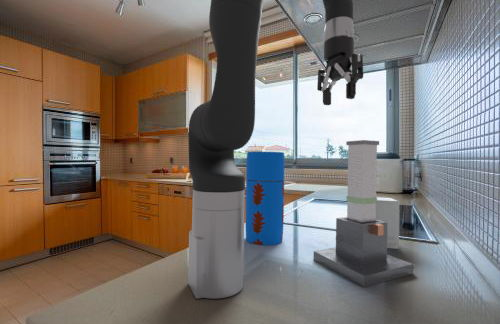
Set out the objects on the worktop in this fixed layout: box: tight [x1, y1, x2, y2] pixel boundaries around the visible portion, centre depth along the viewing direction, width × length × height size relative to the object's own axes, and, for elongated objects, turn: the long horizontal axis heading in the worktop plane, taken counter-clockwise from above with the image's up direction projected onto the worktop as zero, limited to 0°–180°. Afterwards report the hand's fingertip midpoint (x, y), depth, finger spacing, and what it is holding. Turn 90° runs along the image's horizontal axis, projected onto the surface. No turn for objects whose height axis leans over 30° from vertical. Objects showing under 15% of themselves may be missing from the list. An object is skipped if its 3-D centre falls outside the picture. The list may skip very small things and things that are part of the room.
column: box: [345, 139, 380, 224], centre depth 56 cm, size 5×5×19 cm
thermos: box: [245, 151, 285, 246], centre depth 74 cm, size 11×11×25 cm
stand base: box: [312, 216, 414, 288], centre depth 56 cm, size 14×14×10 cm
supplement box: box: [376, 196, 401, 250], centre depth 72 cm, size 7×7×13 cm
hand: (338, 101), depth 69 cm, fingers open, 8 cm apart
